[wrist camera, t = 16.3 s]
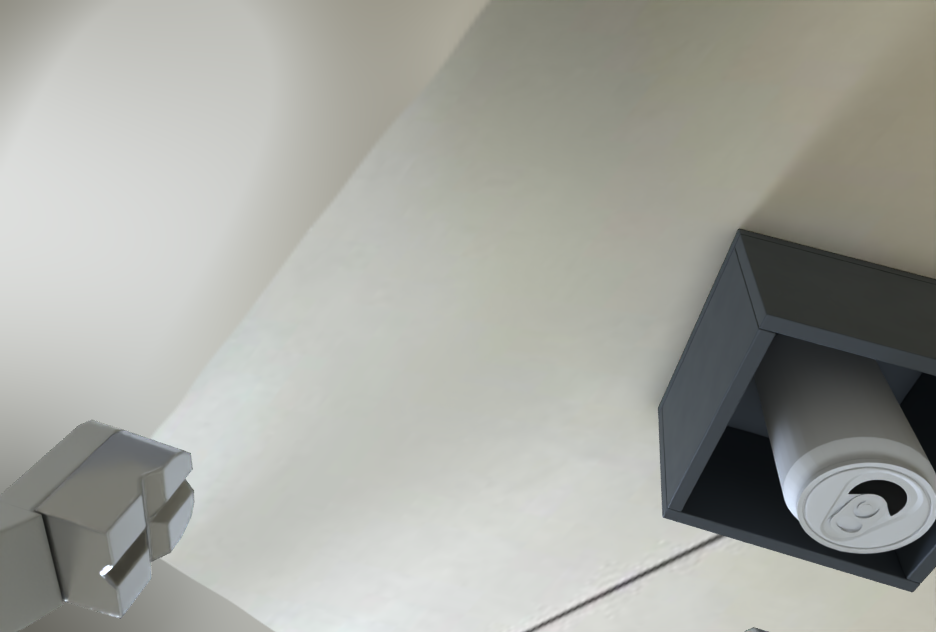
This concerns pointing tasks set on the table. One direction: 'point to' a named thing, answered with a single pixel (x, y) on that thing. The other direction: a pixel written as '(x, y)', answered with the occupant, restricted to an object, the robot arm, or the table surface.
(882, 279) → the waste bin
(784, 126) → the table surface
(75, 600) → the robot arm
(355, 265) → the table surface
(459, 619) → the table surface
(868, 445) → the beverage can
